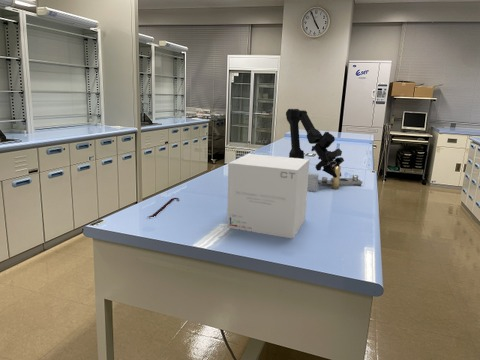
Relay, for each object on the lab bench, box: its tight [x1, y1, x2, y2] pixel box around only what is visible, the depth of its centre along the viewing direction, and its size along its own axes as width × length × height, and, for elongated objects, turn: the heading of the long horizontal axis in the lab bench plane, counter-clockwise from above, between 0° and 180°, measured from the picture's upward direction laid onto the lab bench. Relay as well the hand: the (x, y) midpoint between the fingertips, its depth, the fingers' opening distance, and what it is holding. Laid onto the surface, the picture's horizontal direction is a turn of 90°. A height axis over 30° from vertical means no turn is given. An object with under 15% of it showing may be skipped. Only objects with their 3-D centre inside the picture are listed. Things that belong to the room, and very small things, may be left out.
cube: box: [226, 153, 310, 239], centre depth 140 cm, size 25×21×24 cm
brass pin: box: [331, 165, 342, 190], centre depth 194 cm, size 4×4×12 cm
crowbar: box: [148, 197, 180, 218], centre depth 157 cm, size 28×1×5 cm
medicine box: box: [307, 172, 319, 193], centre depth 190 cm, size 8×4×9 cm, turn 71°
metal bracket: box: [318, 174, 363, 187], centre depth 204 cm, size 23×8×5 cm, turn 96°
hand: (338, 176), depth 193 cm, fingers closed on brass pin, 4 cm apart
